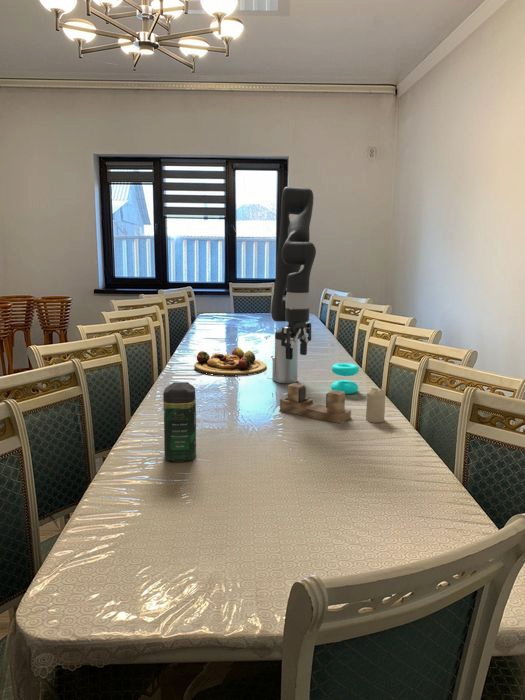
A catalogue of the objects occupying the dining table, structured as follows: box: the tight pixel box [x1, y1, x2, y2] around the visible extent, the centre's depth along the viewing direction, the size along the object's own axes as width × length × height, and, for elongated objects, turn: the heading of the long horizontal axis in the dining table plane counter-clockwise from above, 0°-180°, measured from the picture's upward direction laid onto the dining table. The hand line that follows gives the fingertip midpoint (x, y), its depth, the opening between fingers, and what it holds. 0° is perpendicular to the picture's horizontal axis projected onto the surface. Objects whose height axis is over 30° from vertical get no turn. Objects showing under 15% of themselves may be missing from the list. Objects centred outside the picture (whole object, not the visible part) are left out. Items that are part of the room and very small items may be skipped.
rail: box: [279, 389, 352, 424], centre depth 164 cm, size 22×7×8 cm, turn 54°
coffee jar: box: [162, 381, 197, 463], centre depth 129 cm, size 10×8×19 cm
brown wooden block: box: [287, 382, 307, 403], centre depth 168 cm, size 5×4×6 cm
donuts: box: [330, 362, 360, 395], centre depth 191 cm, size 10×10×10 cm
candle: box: [365, 387, 386, 424], centre depth 158 cm, size 6×6×10 cm
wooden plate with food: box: [193, 346, 268, 377], centre depth 229 cm, size 32×32×8 cm
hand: (296, 357), depth 165 cm, fingers open, 8 cm apart
